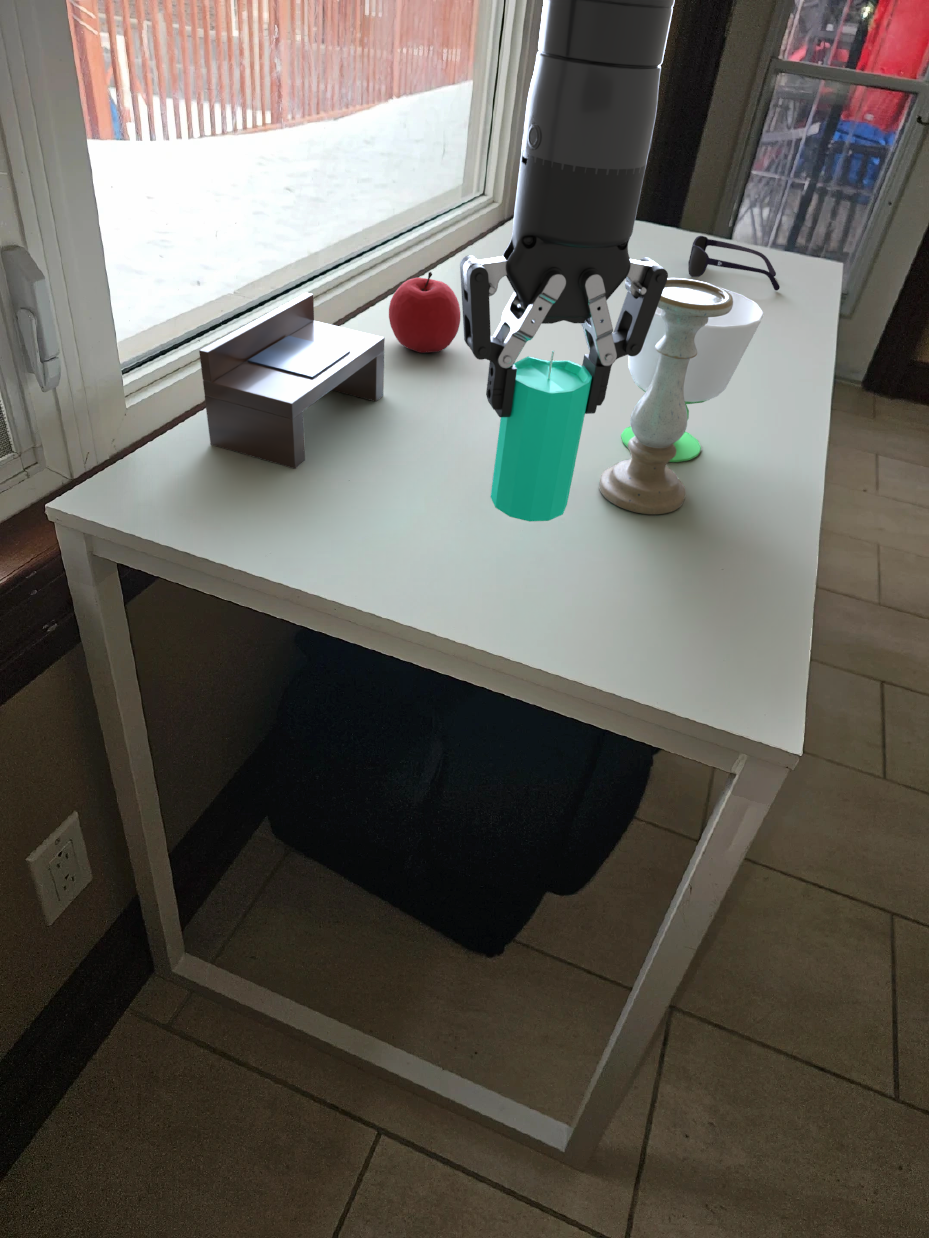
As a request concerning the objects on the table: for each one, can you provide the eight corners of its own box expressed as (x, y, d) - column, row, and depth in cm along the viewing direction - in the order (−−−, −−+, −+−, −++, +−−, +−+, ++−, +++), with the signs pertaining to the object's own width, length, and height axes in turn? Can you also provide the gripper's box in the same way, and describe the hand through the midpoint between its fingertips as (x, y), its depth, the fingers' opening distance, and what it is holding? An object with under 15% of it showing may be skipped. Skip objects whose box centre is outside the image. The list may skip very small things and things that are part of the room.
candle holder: (666, 471, 90) (717, 276, 77) (696, 515, 83) (758, 310, 70) (588, 471, 88) (627, 273, 76) (612, 516, 82) (660, 307, 69)
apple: (461, 339, 114) (467, 263, 108) (453, 365, 107) (460, 285, 101) (394, 331, 114) (396, 255, 108) (382, 356, 107) (384, 276, 101)
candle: (580, 499, 66) (610, 351, 59) (544, 530, 62) (572, 376, 54) (514, 473, 68) (536, 328, 61) (476, 502, 64) (493, 350, 57)
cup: (579, 444, 93) (605, 300, 83) (631, 405, 102) (661, 271, 92) (694, 487, 88) (737, 338, 78) (738, 441, 97) (782, 303, 87)
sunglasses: (686, 260, 153) (693, 231, 150) (773, 272, 151) (782, 243, 148) (686, 282, 143) (694, 251, 139) (780, 295, 141) (790, 265, 138)
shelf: (295, 469, 84) (290, 373, 78) (210, 444, 86) (198, 350, 80) (383, 395, 99) (385, 310, 92) (308, 376, 101) (305, 292, 95)
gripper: (665, 142, 54) (614, 386, 65) (452, 130, 51) (434, 392, 61) (721, 168, 49) (655, 431, 60) (487, 157, 45) (460, 439, 56)
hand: (543, 410), depth 60 cm, fingers closed on candle, 6 cm apart
